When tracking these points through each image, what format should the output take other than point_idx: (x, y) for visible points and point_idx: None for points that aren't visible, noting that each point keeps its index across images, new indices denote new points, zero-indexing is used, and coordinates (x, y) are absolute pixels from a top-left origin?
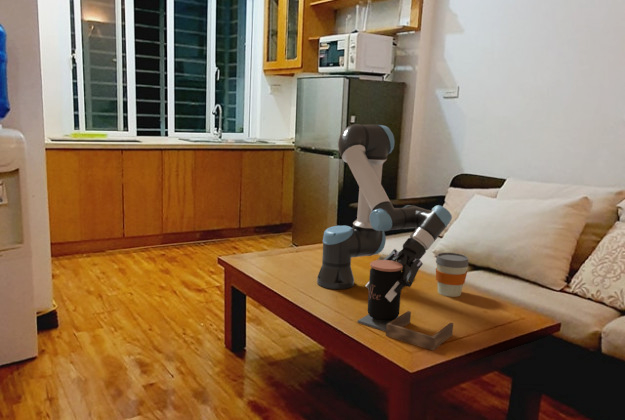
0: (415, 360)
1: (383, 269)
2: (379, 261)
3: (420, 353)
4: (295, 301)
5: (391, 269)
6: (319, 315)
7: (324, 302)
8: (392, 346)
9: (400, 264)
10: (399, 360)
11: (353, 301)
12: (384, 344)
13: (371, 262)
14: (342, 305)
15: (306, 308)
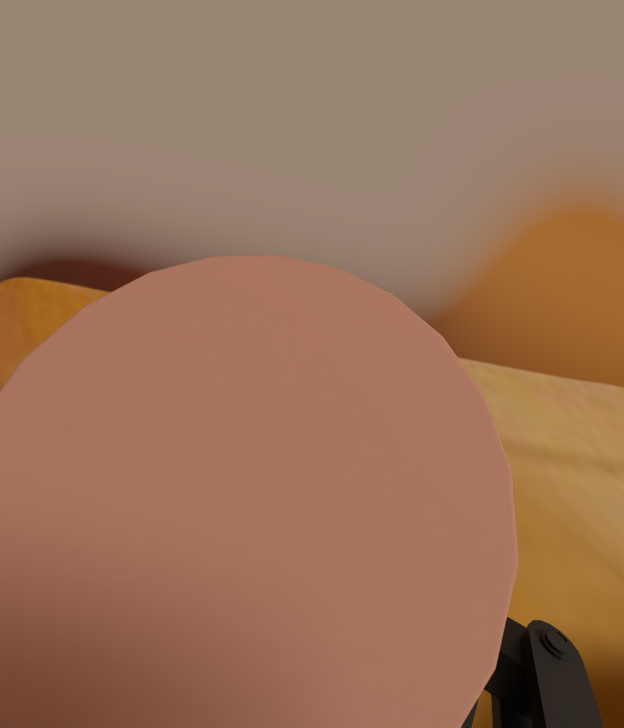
0: (10, 327)
1: (169, 274)
2: (431, 490)
3: (8, 378)
4: (619, 390)
5: (68, 323)
6: (461, 362)
7: (578, 475)
8: None
9: (6, 717)
10: (59, 296)
11: (548, 615)
12: None
13: (443, 348)
14: (517, 515)
15: (539, 373)
